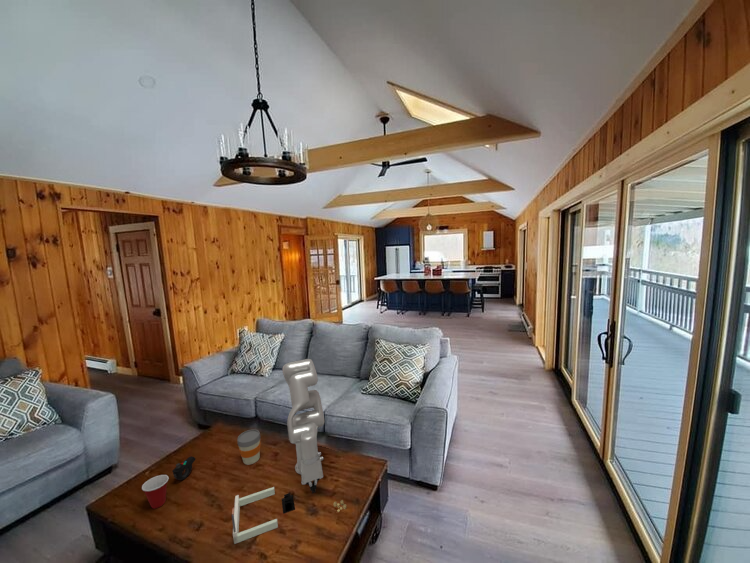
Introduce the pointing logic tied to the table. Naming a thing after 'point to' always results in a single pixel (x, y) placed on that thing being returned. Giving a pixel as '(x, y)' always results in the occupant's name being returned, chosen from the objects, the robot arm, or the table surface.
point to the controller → (183, 468)
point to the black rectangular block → (288, 503)
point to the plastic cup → (156, 490)
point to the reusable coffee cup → (249, 446)
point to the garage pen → (255, 530)
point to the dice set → (339, 505)
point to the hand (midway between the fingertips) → (313, 491)
